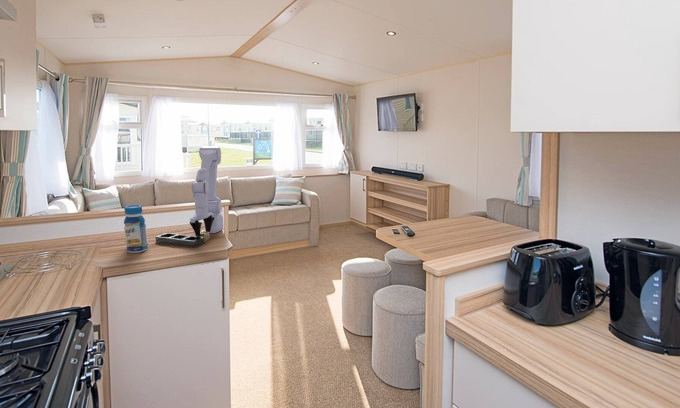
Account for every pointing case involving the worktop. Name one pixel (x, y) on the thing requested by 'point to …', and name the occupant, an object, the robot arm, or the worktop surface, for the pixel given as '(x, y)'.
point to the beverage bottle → (135, 229)
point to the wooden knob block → (204, 235)
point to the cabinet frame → (180, 240)
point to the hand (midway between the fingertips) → (203, 233)
